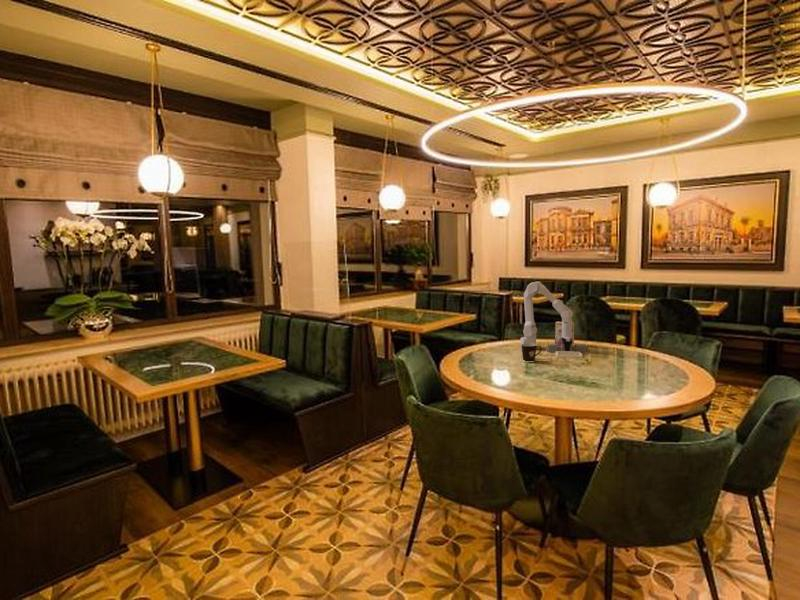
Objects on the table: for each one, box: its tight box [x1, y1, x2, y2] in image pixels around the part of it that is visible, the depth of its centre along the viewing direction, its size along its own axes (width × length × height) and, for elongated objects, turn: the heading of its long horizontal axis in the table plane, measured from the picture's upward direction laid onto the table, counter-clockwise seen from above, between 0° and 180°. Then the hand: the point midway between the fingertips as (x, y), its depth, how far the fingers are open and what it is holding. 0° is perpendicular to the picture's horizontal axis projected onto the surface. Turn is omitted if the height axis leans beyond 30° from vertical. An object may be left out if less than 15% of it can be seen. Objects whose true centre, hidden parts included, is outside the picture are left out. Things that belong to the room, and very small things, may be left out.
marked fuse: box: [560, 344, 572, 351], centre depth 286 cm, size 6×4×5 cm
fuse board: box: [545, 346, 590, 354], centre depth 286 cm, size 25×6×4 cm, turn 77°
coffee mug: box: [521, 343, 543, 361], centre depth 270 cm, size 12×9×10 cm
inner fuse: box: [547, 343, 560, 354], centre depth 288 cm, size 6×4×4 cm, turn 77°
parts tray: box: [555, 351, 584, 359], centre depth 277 cm, size 14×10×2 cm
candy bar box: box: [554, 321, 575, 347], centre depth 303 cm, size 11×5×16 cm, turn 58°
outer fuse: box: [574, 343, 587, 354], centre depth 284 cm, size 6×4×4 cm, turn 77°
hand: (566, 350), depth 286 cm, fingers closed on marked fuse, 4 cm apart
